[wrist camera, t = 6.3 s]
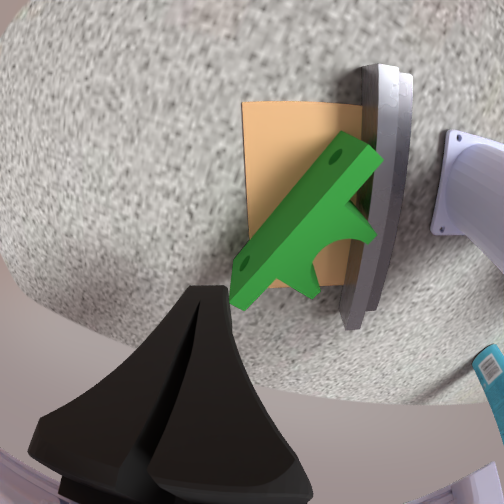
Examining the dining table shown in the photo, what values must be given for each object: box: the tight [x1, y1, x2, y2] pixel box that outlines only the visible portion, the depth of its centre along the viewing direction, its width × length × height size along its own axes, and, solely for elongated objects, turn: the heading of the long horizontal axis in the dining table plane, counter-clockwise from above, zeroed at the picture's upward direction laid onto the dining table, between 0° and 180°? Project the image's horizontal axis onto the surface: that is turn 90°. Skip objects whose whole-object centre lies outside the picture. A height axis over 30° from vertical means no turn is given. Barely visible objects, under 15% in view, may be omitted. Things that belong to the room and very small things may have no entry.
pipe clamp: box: [229, 131, 384, 311], centre depth 16 cm, size 11×4×5 cm, turn 144°
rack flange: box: [242, 64, 413, 330], centre depth 16 cm, size 10×18×2 cm, turn 2°
